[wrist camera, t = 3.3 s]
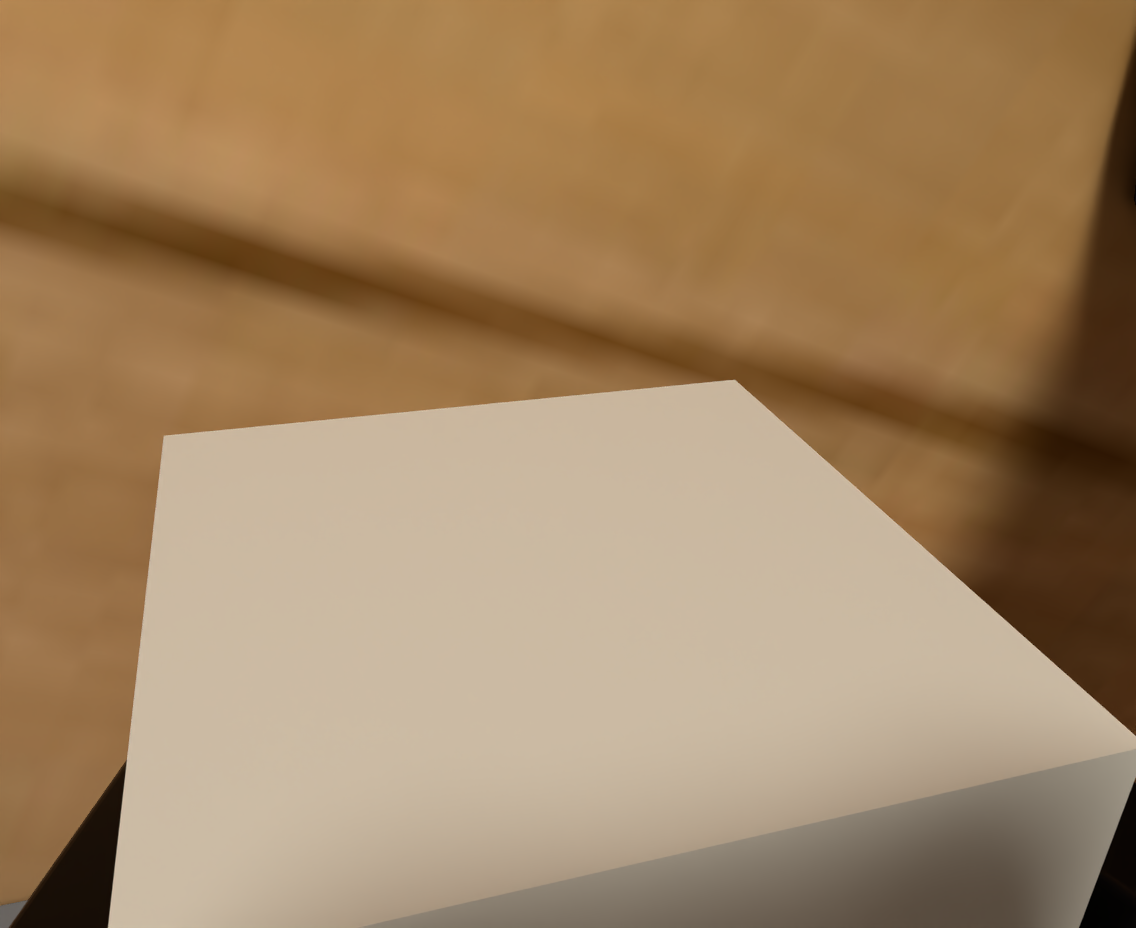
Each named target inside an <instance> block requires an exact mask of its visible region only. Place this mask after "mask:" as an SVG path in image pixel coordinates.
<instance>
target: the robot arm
mask: <svg viewBox="0 0 1136 928" xmlns="http://www.w3.org/2000/svg"><path fill="white" fill-rule="evenodd" d="M1134 201H1135V205H1136V187H1135V195H1134ZM126 765H127V760H126V762H125V763H124V764H123V766H122V767H121V769H120V770H119V772H118V773H117V774H116V776H115V777H114V779H113V780H112V782H111V783H110V784H109V786H108V787H107V789H106V790H105V791H104V793H103V794H102V796H101V797H100V799H99V800H98V801H97V803H96V804H95V806H94V807H93V808H92V810H91V811H90V813H89V814H88V816H87V817H86V818H85V820H84V821H83V823H82V824H81V826H80V827H79V828H78V830H77V831H76V833H75V834H74V835H73V837H72V838H71V840H70V841H69V843H68V844H67V845H66V847H65V848H64V850H63V851H62V852H61V854H60V855H59V857H58V858H57V860H56V861H55V862H54V864H53V865H52V867H51V868H50V870H49V871H48V872H47V874H46V875H45V877H44V878H43V879H42V881H41V882H40V884H39V885H38V887H37V888H36V889H35V891H34V892H33V894H32V895H31V897H30V898H29V899H28V901H27V902H26V904H25V905H24V906H23V908H22V909H21V911H20V912H19V914H18V915H17V916H16V918H15V919H14V921H13V922H12V923H11V925H10V926H9V928H108V923H109V914H110V905H111V897H112V888H113V879H114V870H115V861H116V853H117V844H118V835H119V826H120V817H121V809H122V800H123V791H124V782H125V774H126ZM1079 928H1136V783H1135V782H1134V783H1133V786H1132V788H1131V791H1130V794H1129V796H1128V799H1127V802H1126V804H1125V807H1124V810H1123V812H1122V815H1121V817H1120V820H1119V823H1118V825H1117V828H1116V831H1115V833H1114V836H1113V839H1112V841H1111V844H1110V847H1109V849H1108V852H1107V855H1106V857H1105V860H1104V863H1103V865H1102V868H1101V871H1100V873H1099V876H1098V878H1097V881H1096V884H1095V886H1094V889H1093V892H1092V894H1091V897H1090V900H1089V902H1088V905H1087V908H1086V910H1085V913H1084V916H1083V918H1082V921H1081V924H1080V926H1079Z"/></svg>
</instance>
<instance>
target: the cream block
mask: <svg viewBox="0 0 1136 928" xmlns="http://www.w3.org/2000/svg"><path fill="white" fill-rule="evenodd" d="M1135 778H1136V736H1135V735H1134V734H1133V733H1132V732H1131V731H1129V730H1128V729H1127V728H1126V727H1125V726H1124V725H1123V724H1122V723H1120V722H1119V721H1118V720H1117V719H1116V718H1115V717H1114V716H1113V715H1111V714H1110V713H1109V712H1108V711H1107V710H1106V709H1105V708H1104V707H1102V706H1101V705H1100V704H1099V703H1098V702H1097V701H1096V700H1095V699H1093V698H1092V697H1091V696H1090V695H1089V694H1088V693H1087V692H1086V691H1084V690H1083V689H1082V688H1081V687H1080V686H1079V685H1078V684H1077V683H1075V682H1074V681H1073V680H1072V679H1071V678H1070V677H1069V676H1068V675H1066V674H1065V673H1064V672H1063V671H1062V670H1061V669H1060V668H1059V667H1057V666H1056V665H1055V664H1054V663H1053V662H1052V661H1051V660H1050V659H1048V658H1047V657H1046V656H1045V655H1044V654H1043V653H1042V652H1041V651H1039V650H1038V649H1037V648H1036V647H1035V646H1034V645H1033V644H1032V643H1030V642H1029V641H1028V640H1027V639H1026V638H1025V637H1024V636H1023V635H1021V634H1020V633H1019V632H1018V631H1017V630H1016V629H1015V628H1014V627H1012V626H1011V625H1010V624H1009V623H1008V622H1007V621H1006V620H1005V619H1003V618H1002V617H1001V616H1000V615H999V614H998V613H997V612H996V611H994V610H993V609H992V608H991V607H990V606H989V605H988V604H987V603H985V602H984V601H983V600H982V599H981V598H980V597H979V596H978V595H976V594H975V593H974V592H973V591H972V590H971V589H970V588H969V587H967V586H966V585H965V584H964V583H963V582H962V581H961V580H960V579H958V578H957V577H956V576H955V575H954V574H953V573H952V572H951V571H949V570H948V569H947V568H946V567H945V566H944V565H943V564H942V563H940V562H939V561H938V560H937V559H936V558H935V557H934V556H933V555H931V554H930V553H929V552H928V551H927V550H926V549H925V548H924V547H922V546H921V545H920V544H919V543H918V542H917V541H916V540H915V539H913V538H912V537H911V536H910V535H909V534H908V533H907V532H906V531H904V530H903V529H902V528H901V527H900V526H899V525H898V524H897V523H895V522H894V521H893V520H892V519H891V518H890V517H889V516H888V515H886V514H885V513H884V512H883V511H882V510H881V509H880V508H879V507H877V506H876V505H875V504H874V503H873V502H872V501H871V500H870V499H868V498H867V497H866V496H865V495H864V494H863V493H862V492H861V491H859V490H858V489H857V488H856V487H855V486H854V485H853V484H852V483H850V482H849V481H848V480H847V479H846V478H845V477H844V476H843V475H841V474H840V473H839V472H838V471H837V470H836V469H835V468H834V467H832V466H831V465H830V464H829V463H828V462H827V461H826V460H825V459H823V458H822V457H821V456H820V455H819V454H818V453H817V452H816V451H814V450H813V449H812V448H811V447H810V446H809V445H808V444H806V443H805V442H804V441H803V440H802V439H801V438H800V437H799V436H797V435H796V434H795V433H794V432H793V431H792V430H791V429H790V428H788V427H787V426H786V425H785V424H784V423H783V422H782V421H781V420H779V419H778V418H777V417H776V416H775V415H774V414H773V413H772V412H770V411H769V410H768V409H767V408H766V407H765V406H764V405H763V404H761V403H760V402H759V401H758V400H757V399H756V398H755V397H754V396H752V395H751V394H750V393H749V392H748V391H747V390H746V389H745V388H743V387H742V386H741V385H740V384H739V383H738V382H737V381H736V380H728V381H718V382H708V383H697V384H687V385H677V386H667V387H657V388H646V389H636V390H626V391H616V392H606V393H595V394H585V395H575V396H565V397H555V398H544V399H534V400H524V401H514V402H504V403H494V404H483V405H473V406H463V407H453V408H443V409H432V410H422V411H412V412H402V413H392V414H381V415H371V416H361V417H351V418H341V419H330V420H320V421H310V422H300V423H290V424H280V425H269V426H259V427H249V428H239V429H229V430H218V431H208V432H198V433H188V434H178V435H167V436H164V440H163V449H162V457H161V466H160V475H159V484H158V492H157V501H156V510H155V519H154V528H153V536H152V545H151V554H150V563H149V572H148V580H147V589H146V598H145V607H144V615H143V624H142V633H141V642H140V651H139V659H138V668H137V677H136V686H135V694H134V703H133V712H132V721H131V730H130V738H129V747H128V756H127V765H126V774H125V782H124V791H123V800H122V809H121V817H120V826H119V835H118V844H117V853H116V861H115V870H114V879H113V888H112V897H111V905H110V914H109V923H108V928H1079V926H1080V924H1081V921H1082V918H1083V916H1084V913H1085V910H1086V908H1087V905H1088V902H1089V900H1090V897H1091V894H1092V892H1093V889H1094V886H1095V884H1096V881H1097V878H1098V876H1099V873H1100V871H1101V868H1102V865H1103V863H1104V860H1105V857H1106V855H1107V852H1108V849H1109V847H1110V844H1111V841H1112V839H1113V836H1114V833H1115V831H1116V828H1117V825H1118V823H1119V820H1120V817H1121V815H1122V812H1123V810H1124V807H1125V804H1126V802H1127V799H1128V796H1129V794H1130V791H1131V788H1132V786H1133V783H1134V780H1135Z"/></svg>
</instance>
